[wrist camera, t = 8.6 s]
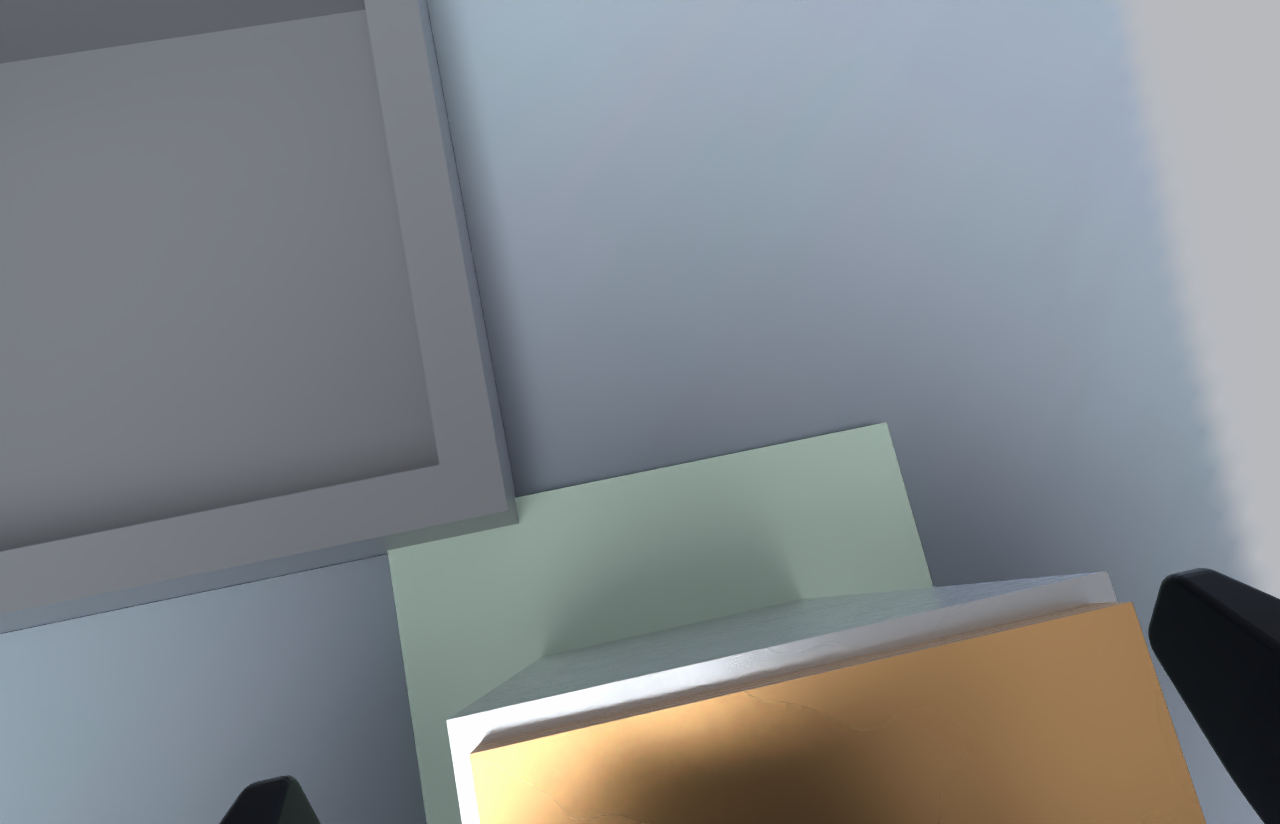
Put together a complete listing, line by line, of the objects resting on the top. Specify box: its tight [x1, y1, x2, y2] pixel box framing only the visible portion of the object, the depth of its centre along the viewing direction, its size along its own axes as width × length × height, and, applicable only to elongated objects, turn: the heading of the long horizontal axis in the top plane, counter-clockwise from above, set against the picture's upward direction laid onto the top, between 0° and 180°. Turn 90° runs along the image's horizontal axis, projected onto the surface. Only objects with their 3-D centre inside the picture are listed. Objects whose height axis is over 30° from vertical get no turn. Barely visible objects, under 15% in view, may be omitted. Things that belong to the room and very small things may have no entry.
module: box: [447, 571, 1206, 824], centre depth 10 cm, size 4×5×10 cm
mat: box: [387, 422, 933, 824], centre depth 16 cm, size 10×10×1 cm
